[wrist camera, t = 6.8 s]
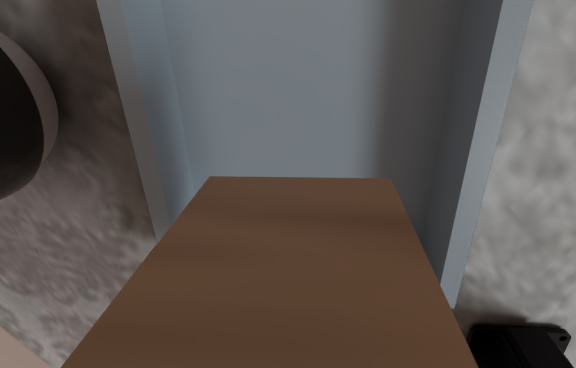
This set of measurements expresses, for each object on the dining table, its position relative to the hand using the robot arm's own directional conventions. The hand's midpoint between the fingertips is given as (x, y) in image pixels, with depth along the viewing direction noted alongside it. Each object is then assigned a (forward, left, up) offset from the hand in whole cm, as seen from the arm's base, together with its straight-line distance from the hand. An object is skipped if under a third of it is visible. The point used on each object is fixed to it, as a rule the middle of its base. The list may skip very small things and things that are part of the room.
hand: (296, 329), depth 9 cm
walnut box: (0, 0, -2) cm, 2 cm away
